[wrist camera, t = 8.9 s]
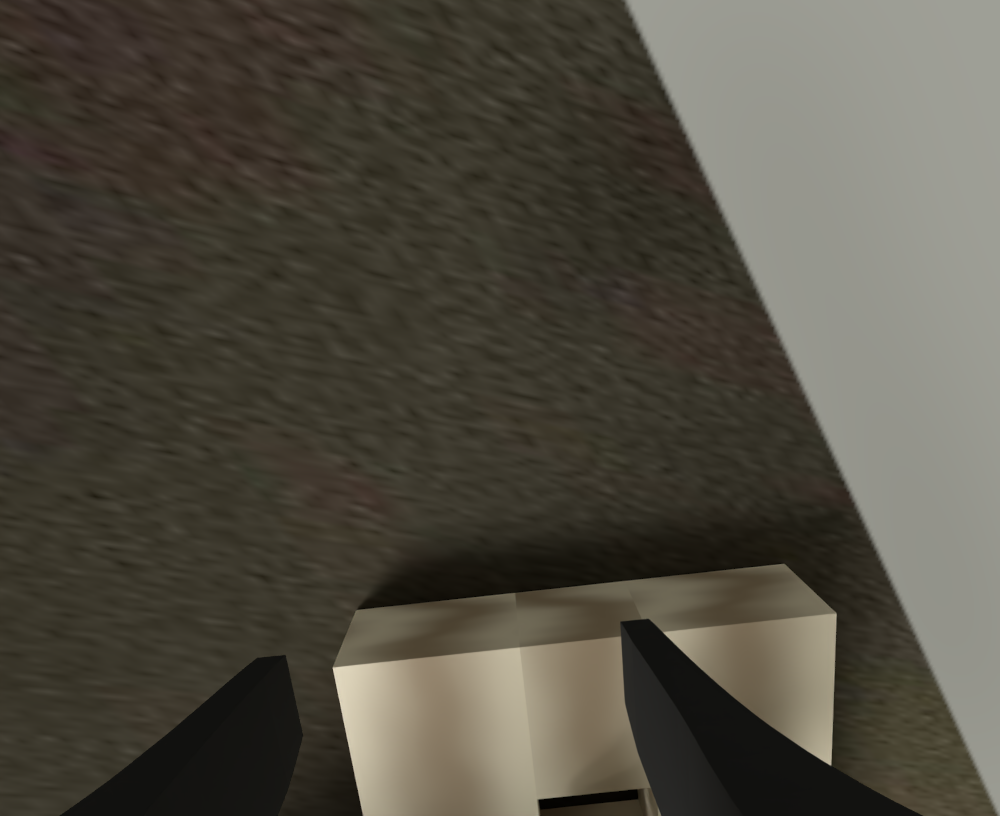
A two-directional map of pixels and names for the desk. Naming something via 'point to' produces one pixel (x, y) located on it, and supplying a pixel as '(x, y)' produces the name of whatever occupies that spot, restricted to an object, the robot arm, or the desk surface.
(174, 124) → the desk surface
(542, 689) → the stand block
